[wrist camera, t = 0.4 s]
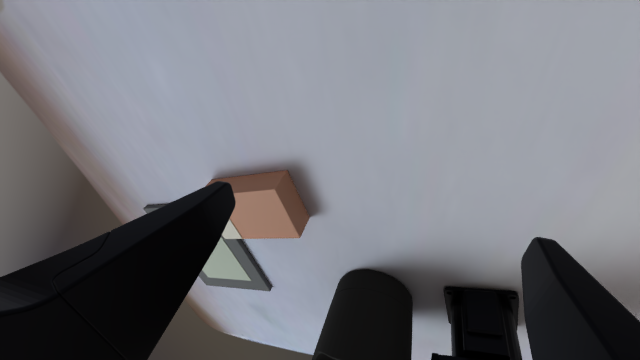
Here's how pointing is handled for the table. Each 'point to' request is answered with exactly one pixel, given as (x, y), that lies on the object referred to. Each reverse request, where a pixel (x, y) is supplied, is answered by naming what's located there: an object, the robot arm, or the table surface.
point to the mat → (230, 265)
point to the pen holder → (367, 320)
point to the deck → (265, 207)
